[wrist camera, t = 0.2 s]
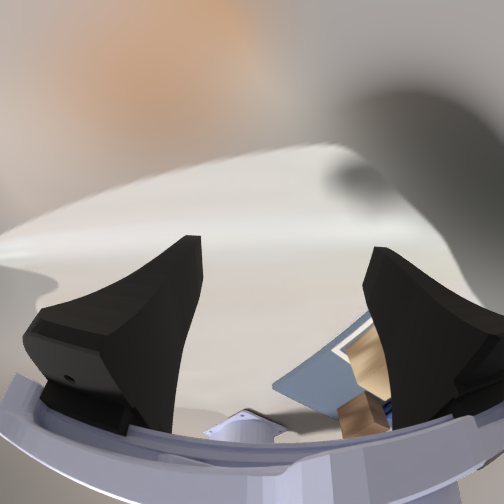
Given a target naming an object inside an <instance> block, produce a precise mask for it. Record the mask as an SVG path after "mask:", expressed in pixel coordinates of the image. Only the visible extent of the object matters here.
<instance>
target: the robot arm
mask: <svg viewBox="0 0 504 504" xmlns="http://www.w3.org/2000/svg"><path fill="white" fill-rule="evenodd" d="M202 282H203V266H202V249H201V236H192V235H186V236H184V237H183V238H181V239H180V240H178V241H177V242H176V243H174V244H173V245H172V246H171V247H169V248H168V249H167V250H165V251H164V252H163V253H161V254H160V255H159V256H157V257H156V258H154V259H153V260H152V261H150V262H149V263H147V264H146V265H144V266H143V267H141V268H140V269H138V270H137V271H135V272H133V273H132V274H130V275H128V276H127V277H125V278H123V279H121V280H119V281H117V282H116V283H113V284H111V285H109V286H107V287H105V288H103V289H100V290H98V291H96V292H94V293H91V294H89V295H86V296H83V297H80V298H78V299H75V300H72V301H69V302H65V303H61V304H58V305H54V306H50V307H46V308H42V309H41V310H40V311H39V313H38V314H37V316H36V317H35V319H34V320H33V322H32V323H31V324H30V326H29V327H28V329H27V331H26V332H25V333H24V335H23V345H24V347H25V350H26V352H27V353H28V355H29V356H30V358H31V359H32V361H33V362H34V363H35V365H36V366H37V367H38V369H39V370H40V371H41V372H42V374H43V375H44V376H45V377H46V379H47V380H48V381H47V383H46V386H45V388H44V387H43V386H42V385H41V384H40V383H38V382H36V381H34V380H32V379H30V378H28V377H26V376H24V375H22V374H20V373H18V372H17V373H15V375H14V377H13V379H12V381H11V382H10V384H9V386H8V388H7V390H6V392H5V395H4V397H3V398H2V401H1V403H0V435H1V436H2V437H4V438H5V439H6V440H8V441H9V442H10V443H12V444H13V445H15V446H16V447H17V448H19V449H20V450H22V451H23V452H25V453H26V454H28V455H29V456H31V457H32V458H34V459H36V460H37V461H39V462H40V463H42V464H44V465H45V466H47V467H49V468H51V469H53V470H55V471H56V472H58V473H60V474H62V475H63V476H65V477H67V478H69V479H71V480H73V481H76V482H78V483H80V484H82V485H84V486H86V487H88V488H91V489H93V490H95V491H98V492H100V493H103V494H106V495H108V496H110V497H113V498H116V499H119V500H122V501H125V502H128V503H131V504H461V499H460V492H459V487H458V482H457V480H458V479H461V478H463V477H464V476H466V475H468V474H470V473H472V472H473V471H475V470H477V469H478V468H480V467H482V466H483V465H484V463H485V462H486V461H487V460H489V459H491V458H492V457H494V456H495V455H497V454H498V453H499V452H501V451H502V450H504V316H503V315H500V314H497V313H495V312H492V311H490V310H487V309H485V308H483V307H481V306H478V305H476V304H474V303H472V302H470V301H468V300H466V299H465V298H463V297H461V296H459V295H457V294H456V293H454V292H452V291H451V290H449V289H447V288H446V287H444V286H443V285H441V284H440V283H438V282H437V281H435V280H434V279H432V278H431V277H429V276H428V275H427V274H425V273H424V272H423V271H421V270H420V269H418V268H417V267H416V266H414V265H413V264H412V263H410V262H409V261H407V260H406V259H405V258H403V257H402V256H400V255H399V254H397V253H396V252H394V251H392V250H391V249H389V248H387V247H374V250H373V253H372V257H371V260H370V263H369V266H368V269H367V272H366V275H365V278H364V281H363V284H362V286H363V291H364V295H365V299H366V303H367V307H368V309H369V312H370V315H371V317H372V320H373V323H374V325H375V328H376V331H377V333H378V336H379V339H380V342H381V345H382V348H383V351H384V355H385V360H386V365H387V370H388V376H389V383H390V391H391V404H392V431H389V432H384V433H379V434H373V435H368V436H362V437H355V438H348V439H340V440H330V441H319V442H304V443H274V437H275V436H277V435H279V434H281V433H283V432H285V431H287V428H286V427H284V426H281V425H279V424H276V423H274V422H272V421H269V420H267V419H265V418H262V417H260V416H258V415H256V414H254V413H251V412H249V411H247V410H243V411H241V412H239V413H237V414H236V415H234V416H232V417H230V418H228V419H227V420H225V421H223V422H221V423H219V424H217V425H215V426H213V427H211V428H209V429H207V430H205V431H204V434H206V435H208V436H209V438H208V439H201V438H194V437H187V436H181V435H175V434H172V423H173V412H174V403H175V395H176V388H177V381H178V375H179V369H180V363H181V358H182V353H183V348H184V344H185V340H186V337H187V334H188V331H189V328H190V325H191V322H192V319H193V316H194V313H195V310H196V307H197V304H198V301H199V297H200V292H201V287H202Z"/></svg>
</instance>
